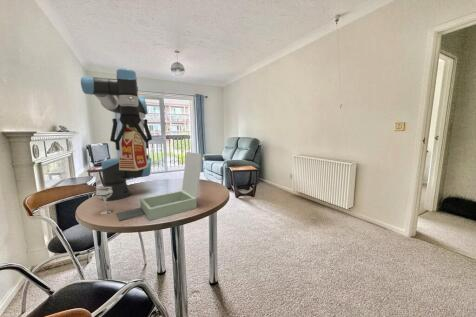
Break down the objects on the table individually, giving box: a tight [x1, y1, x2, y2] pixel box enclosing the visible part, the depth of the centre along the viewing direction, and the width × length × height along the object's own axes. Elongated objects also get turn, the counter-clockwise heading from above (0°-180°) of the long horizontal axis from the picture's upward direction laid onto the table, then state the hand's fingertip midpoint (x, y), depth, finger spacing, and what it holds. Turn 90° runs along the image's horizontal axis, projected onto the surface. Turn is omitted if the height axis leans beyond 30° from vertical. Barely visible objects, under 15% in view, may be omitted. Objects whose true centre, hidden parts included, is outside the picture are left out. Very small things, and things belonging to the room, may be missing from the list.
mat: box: [116, 207, 145, 222], centre depth 92 cm, size 10×10×1 cm
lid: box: [181, 151, 205, 199], centre depth 106 cm, size 18×22×2 cm
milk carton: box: [119, 125, 148, 171], centre depth 90 cm, size 9×9×20 cm
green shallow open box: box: [139, 190, 197, 221], centre depth 99 cm, size 18×22×5 cm
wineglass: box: [95, 186, 113, 215], centre depth 95 cm, size 7×7×12 cm
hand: (133, 156), depth 91 cm, fingers closed on milk carton, 9 cm apart
